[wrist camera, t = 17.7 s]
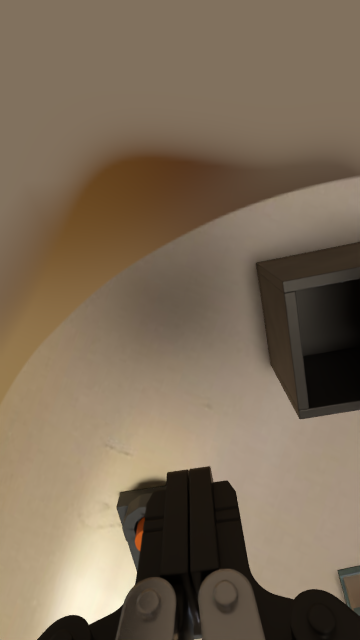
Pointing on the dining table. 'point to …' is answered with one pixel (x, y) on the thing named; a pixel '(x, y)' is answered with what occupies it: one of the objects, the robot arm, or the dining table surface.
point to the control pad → (135, 517)
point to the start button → (139, 533)
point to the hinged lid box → (315, 327)
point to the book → (351, 587)
